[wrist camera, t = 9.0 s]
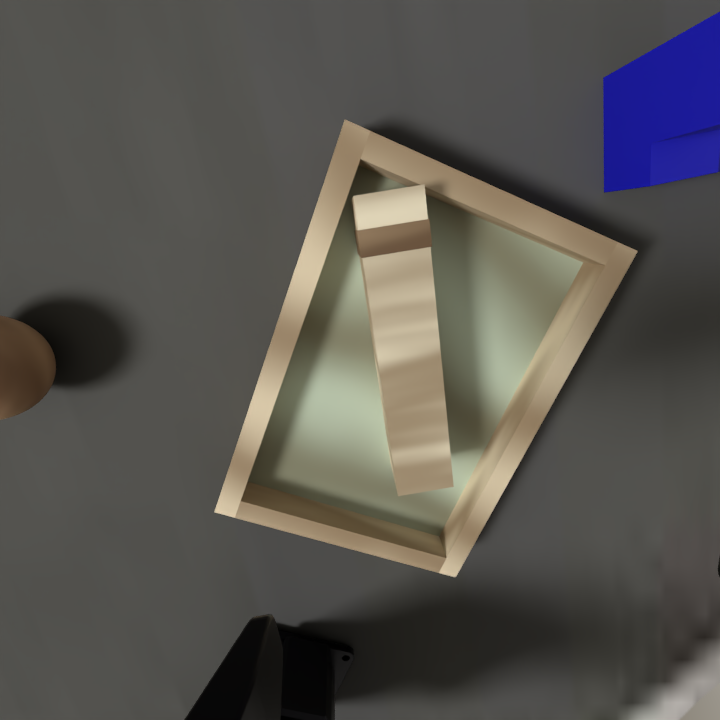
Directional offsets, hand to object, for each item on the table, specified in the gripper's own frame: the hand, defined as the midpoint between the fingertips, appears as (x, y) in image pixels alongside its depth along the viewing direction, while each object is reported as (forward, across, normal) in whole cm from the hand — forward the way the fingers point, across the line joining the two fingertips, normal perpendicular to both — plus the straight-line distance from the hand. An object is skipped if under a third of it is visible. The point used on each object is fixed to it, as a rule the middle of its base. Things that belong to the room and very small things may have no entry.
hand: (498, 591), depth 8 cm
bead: (+13, +17, -4) cm, 22 cm away
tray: (+13, 0, 0) cm, 13 cm away
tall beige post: (+11, 0, +5) cm, 12 cm away
